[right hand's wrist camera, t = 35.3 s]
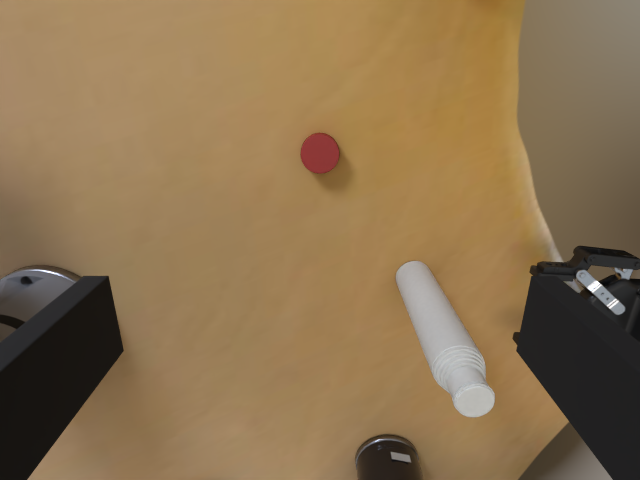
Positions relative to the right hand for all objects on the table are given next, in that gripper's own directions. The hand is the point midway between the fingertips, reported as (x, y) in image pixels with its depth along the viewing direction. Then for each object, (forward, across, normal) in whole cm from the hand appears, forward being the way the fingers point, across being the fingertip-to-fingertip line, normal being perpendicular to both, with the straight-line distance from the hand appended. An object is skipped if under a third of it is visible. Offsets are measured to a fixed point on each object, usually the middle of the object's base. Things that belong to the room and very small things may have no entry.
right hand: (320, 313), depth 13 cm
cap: (+33, 0, 0) cm, 33 cm away
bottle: (+35, +12, -16) cm, 40 cm away
